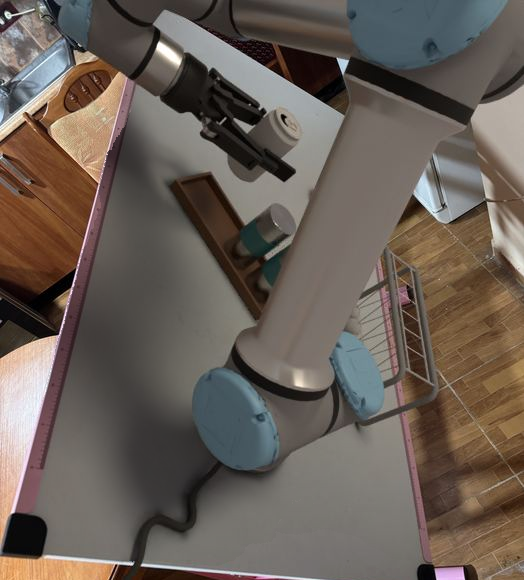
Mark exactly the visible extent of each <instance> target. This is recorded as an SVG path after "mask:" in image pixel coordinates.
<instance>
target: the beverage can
mask: <svg viewBox="0 0 524 580" xmlns="http://www.w3.org/2000/svg"><path fill="white" fill-rule="evenodd" d="M263 117H264V118H263V119H262V120H261V121H260V122H259V123H258V124H256V125H254V126H252V128H251V129H250V130H249V131H248V132H246V133H247V134H248V135H249V136H250V137H251V138H252V139H253V140H254V141H255V142H256V143H257V144H258V145H259V146H260V147H261V148H262V149H263V150H264V149H265V148H267V149H268V150H270V151H271V152H272V153H274V154H275V155H276V156H278V157H279V158H281V159H282V158H284V157H285V156H286V155H287V154H288V153H289V152H291V151H292V150H293V149H294V148H295V147H296V146H298V144H299V141H300V140H301V139H302V138H303V129H302V126H301V124H300V122H299V120H298V119H297V118H296V117H295V116H294V114H293V113H292V112H291V111H289V110H288V109H287V108H286V107H283V106H278V107H277V108H276V109H271V110H270V111H269V112H267V113H266V114H265V115H264V116H263ZM226 154H227V153H226ZM226 158H227V165H228V168H229V169H230V171H231V173H233V175H234V176H235V177H236V178H237V179H239V180H241V181H243V182H245V183H250V184H251V183H254V182H256V181H257V180H258V179H259V178H260V177H262V176H263V175H264V174H265V173H266V172H267V171H266V170H265V169H263V168H262V167H260V166H259V165H257V166H256V167H255V168H253V169H252V170H251V171H249V170H248V169H247V168H245V167H244V166H243V165H241V164H240V163H239V162H237V161H236V160H235V159H233V158H232V157H231V156H229V155H228V154H227V155H226Z"/></svg>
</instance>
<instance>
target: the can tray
mask: <svg viewBox="0 0 524 580" xmlns="http://www.w3.org/2000/svg"><path fill="white" fill-rule="evenodd" d="M169 187H170V189H171V191H172V193H174V196H175V197H176V198H177V200H178V201H179V203H180V204H181V206H182V207H183V210H184V211H185V212H186V214H187V215H188V217H189V219H190V220H191V222H192V223H193V225H194V226H195V228H196V229H197V231H198V232H199V234H200V235H201V237H202V239H203V240H204V242H205V243H206V245H207V247H208V248H209V249H210V251H211V253H212V254H213V255H214V257H215V259H216V260H217V262H218V263H219V265H220V267H221V268H222V270H223V271H224V273H225V274H226V276H227V278H228V279H229V280H230V282H231V283H232V285H233V287H234V288H235V290H236V291H237V293H238V294H239V296H240V297H241V299H242V301H243V302H244V304H245V305H246V307H247V308H248V310H249V311H250V313H251V314H252V316H253V318H254V319H255V320H256V321H257V320H259V319H260V316H261V314H262V312H263V309H264V307H265V304H266V303H262V302H259V301H257V300H256V299H255V298H254V296H253V295H252V293H251V292H250V290H249V289H248V287H247V286H246V277H247V275H248V274H249V273H251V272H252V271H253V270H255V269H256V268H258V267H259V266H260V265H262V264H263V263H264V262H265V261H267V260H268V258H267V257H266V255H265V256H264V257H262V258H260V259H259V260H258V261H256V262H255V263H254V264H252V265H251V266H250V267H248V268H247V269H244V270H242V269H238V268H236V267H235V266H234V265H233V264H232V262H231V261H230V259H229V258H228V256H227V255H226V253H225V251H224V244H225V242H226V241H227V240H229V239H230V238H231V237H232V236H234V235H235V234H236V233H237V232H239V231H240V230H241V229H242V228H243V227H244V226H245V225H246V224H245V223H244V221H243V220H242V218H241V216H240V215H239V213H238V211H237V210H236V209H235V207H234V205H233V204H232V203H231V201H230V199H229V198H228V196H227V195H226V193H225V191H224V190H223V188H222V187H221V185H220V184H219V181H217V179H216V178H215V175H214V174H213V173H212V171H206V172H205V171H204V172H202V173H197V174H194V175H189V176H185V177H181V178H176V179H174V181H173V182H171V184H169Z"/></svg>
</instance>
